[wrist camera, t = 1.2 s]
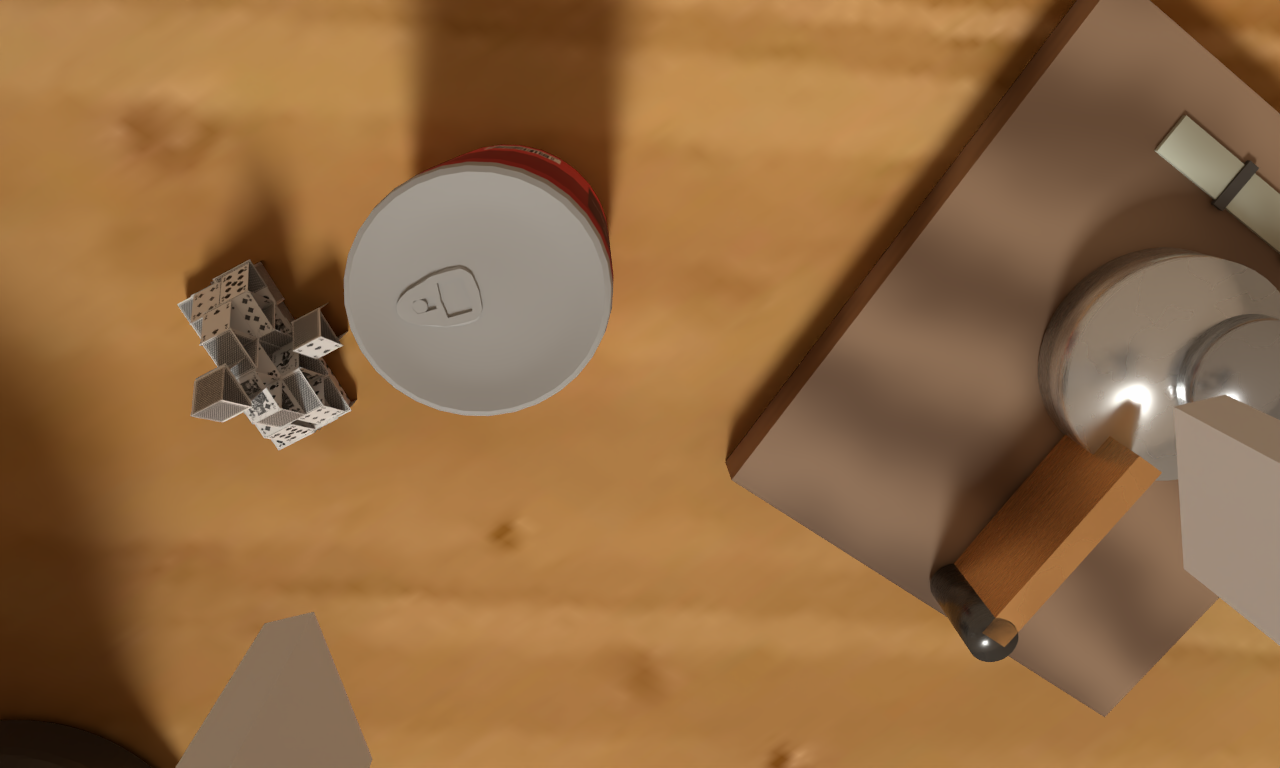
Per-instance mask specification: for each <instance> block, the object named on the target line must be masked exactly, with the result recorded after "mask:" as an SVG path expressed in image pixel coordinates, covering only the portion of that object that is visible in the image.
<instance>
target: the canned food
mask: <svg viewBox="0 0 1280 768" xmlns="http://www.w3.org/2000/svg"><path fill="white" fill-rule="evenodd" d="M612 296H613V269H612V260H611V251H610V242H609V234H608V228H607V221H606V217H605V214H604V211H603V209H602V206H601V203H600V201H599V199H598V197H597V196H596V194H595V192H594V191H593V189H592V188H591V186H590V184H589V183H588V182H587V181H586V180H585V179H584V178H583V177H582V176H581V175H580V174H579V173H578V172H577V170H575V169H574V168H573V167H571V166H570V165H568V164H567V163H566V162H564V161H563V160H561V159H560V158H558V157H556V156H554V155H551V154H549V153H547V152H545V151H542V150H539V149H535V148H531V147H526V146H522V145H496V146H489V147H483V148H479V149H477V150H474V151H471V152H469V153H466V154H463V155H461V156H458V157H456V158H454V159H451V160H449V161H446V162H444V163H442V164H439V165H437V166H434V167H432V168H430V169H427V170H425V171H423V172H421V173H420V174H418V175H416V176H414V177H413V178H411V179H409V180H408V181H406V182H405V183H403V184H401V185H400V186H398V187H396V188H395V189H394V190H392V191H391V192H390V193H389V194H388V195H387V196H386V197H385V198H384V199H383V200H382V201H381V202H380V203H379V204H378V205H377V206H375V208H374V209H373V211H372V212H371V213H370V215H369V216H368V218H367V219H366V221H365V222H364V224H363V225H362V226H361V228H360V229H359V231H358V233H357V235H356V237H355V240H354V242H353V245H352V247H351V249H350V252H349V254H348V259H347V264H346V270H345V275H344V304H345V308H346V312H347V316H348V320H349V325H350V328H351V331H352V333H353V335H354V337H355V339H356V341H357V343H358V345H359V347H360V350H361V351H362V353H363V354H364V355H365V357H366V358H367V359H368V361H369V362H370V363H371V365H372V366H373V367H374V369H375V370H376V371H377V372H378V373H379V374H380V375H381V376H382V377H383V378H384V379H386V380H387V381H388V382H389V383H390V384H391V385H392V386H393V387H394V388H396V389H397V390H399V391H401V392H402V393H404V394H405V395H407V396H409V397H410V398H412V399H413V400H415V401H417V402H420V403H422V404H425V405H427V406H430V407H432V408H435V409H437V410H440V411H445V412H450V413H455V414H460V415H474V416H492V415H498V414H504V413H511V412H516V411H518V410H521V409H524V408H527V407H530V406H533V405H536V404H538V403H540V402H542V401H543V400H545V399H547V398H549V397H551V396H552V395H554V394H556V393H558V392H559V391H560V390H562V389H563V388H564V387H565V386H566V385H567V384H569V383H570V382H571V381H572V380H573V379H574V378H576V377H577V376H578V375H579V373H580V372H581V371H582V370H583V368H584V367H585V366H586V365H587V363H588V362H589V361H590V359H591V358H592V357H593V355H594V353H595V351H596V349H597V347H598V345H599V343H600V341H601V339H602V337H603V335H604V333H605V331H606V328H607V324H608V320H609V316H610V313H611V309H612Z"/></svg>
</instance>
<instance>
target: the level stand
mask: <svg viewBox="0 0 1280 768" xmlns="http://www.w3.org/2000/svg"><path fill="white" fill-rule="evenodd" d="M1158 247H1173V248H1180V249H1187V250H1191V251H1195V252H1198V253H1202V254H1206V255H1210V256H1213V257H1217V258H1221V259H1225V260H1229V261H1232V262H1235V263H1239V264H1242V265H1244V266H1246V267H1248V268H1250V269H1252V270H1255V271H1256V272H1258V273H1259V274H1260V275H1262V276H1263V277H1265V278H1266V279H1267V280H1268V281H1269V282H1270V283H1271V284H1272V285H1274V286H1275V287H1276V289H1277V290H1278V291H1279V293H1280V113H1278V112H1277V111H1276V110H1275V109H1274V108H1273V107H1272V106H1270V105H1269V104H1268V103H1267V102H1266V101H1265V100H1263V99H1262V98H1261V97H1260V96H1259V95H1258V94H1257V93H1255V92H1254V91H1253V90H1252V89H1251V88H1250V87H1249V86H1247V85H1246V84H1245V83H1244V82H1243V81H1242V80H1241V79H1239V78H1238V77H1237V76H1236V75H1235V74H1234V73H1233V72H1231V71H1230V70H1229V69H1228V68H1227V67H1226V66H1225V65H1223V64H1222V63H1221V62H1220V61H1219V60H1218V59H1216V58H1215V57H1214V56H1213V55H1212V54H1211V53H1210V52H1208V51H1207V50H1206V49H1205V48H1204V47H1203V46H1202V45H1200V44H1199V43H1198V42H1197V41H1196V40H1195V39H1194V38H1192V37H1191V36H1190V35H1189V34H1188V33H1187V32H1186V31H1184V30H1183V29H1182V28H1181V27H1180V26H1179V25H1177V24H1176V23H1175V22H1174V21H1173V20H1172V19H1171V18H1169V17H1168V16H1167V15H1166V14H1165V13H1164V12H1163V11H1161V10H1160V9H1159V8H1158V7H1157V6H1156V5H1155V4H1153V3H1152V2H1151V1H1150V0H1077V1H1076V2H1075V3H1074V5H1073V6H1072V7H1071V9H1070V10H1069V11H1068V13H1067V14H1066V15H1065V17H1064V18H1063V19H1062V21H1061V22H1060V23H1059V24H1058V26H1057V27H1056V28H1055V30H1054V31H1053V32H1052V34H1051V35H1050V36H1049V38H1048V39H1047V40H1046V42H1045V43H1044V44H1043V45H1042V47H1041V48H1040V49H1039V51H1038V52H1037V53H1036V55H1035V56H1034V57H1033V59H1032V60H1031V61H1030V63H1029V64H1028V65H1027V66H1026V68H1025V69H1024V70H1023V72H1022V73H1021V74H1020V76H1019V77H1018V78H1017V80H1016V81H1015V82H1014V84H1013V85H1012V86H1011V87H1010V89H1009V90H1008V91H1007V93H1006V94H1005V95H1004V97H1003V98H1002V99H1001V101H1000V102H999V103H998V105H997V106H996V107H995V109H994V110H993V111H992V112H991V114H990V115H989V116H988V118H987V119H986V120H985V122H984V123H983V124H982V126H981V127H980V128H979V130H978V131H977V132H976V133H975V135H974V136H973V137H972V139H971V140H970V141H969V143H968V144H967V145H966V147H965V148H964V149H963V151H962V152H961V153H960V154H959V156H958V157H957V158H956V160H955V161H954V162H953V164H952V165H951V166H950V168H949V169H948V170H947V172H946V173H945V174H944V175H943V177H942V178H941V179H940V181H939V182H938V183H937V185H936V186H935V187H934V189H933V190H932V191H931V193H930V194H929V195H928V197H927V198H926V199H925V200H924V202H923V203H922V204H921V206H920V207H919V208H918V210H917V211H916V212H915V214H914V215H913V216H912V218H911V219H910V220H909V221H908V223H907V224H906V225H905V227H904V228H903V229H902V231H901V232H900V233H899V235H898V236H897V237H896V239H895V240H894V241H893V242H892V244H891V245H890V246H889V248H888V249H887V250H886V252H885V253H884V254H883V256H882V257H881V258H880V260H879V261H878V262H877V263H876V265H875V266H874V267H873V269H872V270H871V271H870V273H869V274H868V275H867V277H866V278H865V279H864V281H863V282H862V283H861V285H860V286H859V287H858V288H857V290H856V291H855V292H854V294H853V295H852V296H851V298H850V299H849V300H848V302H847V303H846V304H845V306H844V307H843V308H842V309H841V311H840V312H839V313H838V315H837V316H836V317H835V319H834V320H833V321H832V323H831V324H830V325H829V327H828V328H827V329H826V330H825V332H824V333H823V334H822V336H821V337H820V338H819V340H818V341H817V342H816V344H815V345H814V346H813V348H812V349H811V350H810V351H809V353H808V354H807V355H806V357H805V358H804V359H803V361H802V362H801V363H800V365H799V366H798V367H797V369H796V370H795V371H794V373H793V374H792V375H791V376H790V378H789V379H788V380H787V382H786V383H785V384H784V386H783V387H782V388H781V390H780V391H779V392H778V394H777V395H776V396H775V397H774V399H773V400H772V401H771V403H770V404H769V405H768V407H767V408H766V409H765V411H764V412H763V413H762V415H761V416H760V417H759V418H758V420H757V421H756V422H755V424H754V425H753V426H752V428H751V429H750V430H749V432H748V433H747V434H746V436H745V437H744V438H743V439H742V441H741V442H740V443H739V445H738V446H737V447H736V449H735V450H734V451H733V453H732V454H731V455H730V457H729V458H728V459H727V461H726V465H727V468H728V471H729V474H730V477H731V480H732V481H734V482H736V483H737V484H739V485H740V486H742V487H743V488H745V489H747V490H748V491H750V492H751V493H753V494H754V495H756V496H758V497H759V498H761V499H762V500H764V501H765V502H767V503H769V504H770V505H772V506H773V507H775V508H776V509H778V510H780V511H781V512H783V513H784V514H786V515H787V516H789V517H791V518H792V519H794V520H795V521H797V522H798V523H800V524H802V525H803V526H805V527H806V528H808V529H809V530H811V531H813V532H814V533H816V534H817V535H819V536H821V537H822V538H824V539H825V540H827V541H828V542H830V543H832V544H833V545H835V546H836V547H838V548H839V549H841V550H843V551H844V552H846V553H847V554H849V555H850V556H852V557H854V558H855V559H857V560H858V561H860V562H861V563H863V564H865V565H866V566H868V567H869V568H871V569H872V570H874V571H876V572H877V573H879V574H880V575H882V576H883V577H885V578H887V579H888V580H890V581H891V582H893V583H894V584H896V585H898V586H899V587H901V588H902V589H904V590H905V591H907V592H909V593H910V594H912V595H913V596H915V597H916V598H918V599H920V600H921V601H923V602H924V603H926V604H927V605H929V606H931V607H932V608H934V609H935V610H937V611H938V612H940V613H942V614H943V615H945V616H946V614H945V613H944V611H943V610H942V608H941V607H940V605H939V604H938V602H937V601H936V599H935V598H934V596H933V595H932V593H931V590H930V582H931V579H932V577H933V575H934V574H935V572H936V571H937V570H939V569H940V568H941V567H943V566H945V565H948V564H953V563H955V562H956V560H957V559H958V558H959V557H960V556H961V555H962V553H963V552H964V551H965V550H966V549H967V548H968V546H969V545H970V544H971V543H972V542H973V541H974V540H975V538H976V537H977V536H978V535H979V534H980V533H981V531H982V530H983V529H984V528H985V527H986V526H987V524H988V523H989V522H990V521H991V520H992V519H993V517H994V516H995V515H996V514H997V513H998V512H999V510H1000V509H1001V508H1002V507H1003V506H1004V505H1005V504H1006V502H1007V501H1008V500H1009V499H1010V498H1011V497H1012V495H1013V494H1014V493H1015V492H1016V491H1017V490H1018V488H1019V487H1020V486H1021V485H1022V484H1023V483H1024V481H1025V480H1026V479H1027V478H1028V477H1029V476H1030V474H1031V473H1032V472H1033V471H1034V470H1035V469H1036V467H1037V466H1038V465H1039V464H1040V463H1041V462H1042V461H1043V459H1044V458H1045V457H1046V456H1047V455H1048V454H1049V452H1050V451H1051V450H1052V449H1053V448H1054V447H1055V445H1056V444H1057V443H1058V442H1059V441H1060V440H1061V438H1062V437H1063V436H1064V435H1065V434H1064V433H1062V431H1061V430H1060V429H1059V428H1058V427H1057V426H1056V425H1055V423H1054V422H1053V420H1052V419H1051V417H1050V415H1049V414H1048V412H1047V410H1046V407H1045V405H1044V403H1043V400H1042V396H1041V393H1040V389H1039V380H1038V361H1039V354H1040V348H1041V345H1042V341H1043V338H1044V334H1045V332H1046V330H1047V327H1048V325H1049V323H1050V321H1051V319H1052V317H1053V315H1054V314H1055V312H1056V310H1057V308H1058V307H1059V306H1060V304H1061V303H1062V301H1063V300H1064V299H1065V297H1066V296H1067V295H1068V294H1069V293H1070V292H1071V291H1072V290H1073V288H1074V287H1075V286H1076V285H1077V284H1078V283H1080V282H1081V281H1082V280H1083V279H1084V278H1085V277H1086V276H1088V275H1089V274H1090V273H1092V272H1093V271H1095V270H1096V269H1098V268H1099V267H1100V266H1102V265H1104V264H1106V263H1108V262H1110V261H1111V260H1113V259H1115V258H1118V257H1120V256H1123V255H1125V254H1128V253H1131V252H1135V251H1139V250H1143V249H1150V248H1158ZM1218 598H1219V597H1218V596H1217V595H1216V594H1215V593H1213V592H1212V591H1211V590H1210V589H1208V588H1207V587H1206V586H1205V585H1203V584H1202V583H1201V582H1200V581H1198V580H1197V579H1196V578H1195V577H1193V576H1192V575H1191V574H1190V573H1188V572H1187V571H1186V570H1185V569H1184V564H1183V548H1182V532H1181V515H1180V499H1179V483H1178V479H1177V480H1169V481H1154V482H1153V483H1152V485H1151V486H1150V487H1149V488H1148V489H1147V490H1146V491H1145V492H1144V493H1143V494H1142V496H1141V497H1140V498H1139V499H1138V500H1137V501H1136V502H1135V503H1134V504H1133V506H1132V507H1131V508H1130V509H1129V510H1128V511H1127V512H1126V513H1125V514H1124V516H1123V517H1122V518H1121V519H1120V520H1119V521H1118V522H1117V523H1116V524H1115V526H1114V527H1113V528H1112V529H1111V530H1110V531H1109V532H1108V533H1107V534H1106V536H1105V537H1104V538H1103V539H1102V540H1101V541H1100V542H1099V543H1098V544H1097V545H1096V547H1095V548H1094V549H1093V550H1092V551H1091V552H1090V553H1089V554H1088V555H1087V557H1086V558H1085V559H1084V560H1083V561H1082V562H1081V563H1080V564H1079V565H1078V567H1077V568H1076V569H1075V570H1074V571H1073V572H1072V573H1071V574H1070V575H1069V577H1068V578H1067V579H1066V580H1065V581H1064V582H1063V583H1062V584H1061V585H1060V587H1059V588H1058V589H1057V590H1056V591H1055V592H1054V593H1053V594H1052V595H1051V596H1050V598H1049V599H1048V600H1047V601H1046V602H1045V603H1044V604H1043V605H1042V606H1041V608H1040V609H1039V610H1038V611H1037V612H1036V613H1035V614H1034V615H1033V616H1032V618H1031V619H1030V620H1029V621H1028V622H1027V623H1026V624H1025V625H1024V626H1023V628H1022V629H1021V630H1020V631H1019V632H1018V643H1017V645H1016V647H1015V649H1014V650H1013V652H1012V653H1011V654H1010V655H1008V656H1009V657H1011V658H1012V659H1014V660H1016V661H1017V662H1019V663H1020V664H1022V665H1023V666H1025V667H1027V668H1028V669H1030V670H1031V671H1033V672H1034V673H1036V674H1038V675H1039V676H1041V677H1042V678H1044V679H1045V680H1047V681H1049V682H1050V683H1052V684H1053V685H1055V686H1056V687H1058V688H1060V689H1061V690H1063V691H1064V692H1066V693H1067V694H1069V695H1071V696H1072V697H1074V698H1075V699H1077V700H1079V701H1080V702H1082V703H1083V704H1085V705H1086V706H1088V707H1090V708H1091V709H1093V710H1094V711H1096V712H1097V713H1099V714H1101V715H1102V716H1104V717H1105V716H1106V715H1107V714H1108V713H1109V712H1110V711H1111V710H1112V709H1113V708H1114V707H1115V706H1116V705H1117V704H1118V703H1119V702H1120V701H1121V700H1122V699H1123V698H1124V696H1125V695H1126V694H1127V693H1128V692H1129V691H1130V690H1131V689H1132V688H1133V687H1134V686H1135V685H1136V684H1137V683H1138V682H1139V681H1140V680H1141V679H1142V678H1143V677H1144V676H1145V675H1146V674H1147V672H1148V671H1149V670H1150V669H1151V668H1152V667H1153V666H1154V665H1155V664H1156V663H1157V662H1158V661H1159V660H1160V659H1161V658H1162V657H1163V656H1164V655H1165V654H1166V653H1167V652H1168V651H1169V649H1170V648H1171V647H1172V646H1173V645H1174V644H1175V643H1176V642H1177V641H1178V640H1179V639H1180V638H1181V637H1182V636H1183V635H1184V634H1185V633H1186V632H1187V631H1188V630H1189V629H1190V628H1191V627H1192V625H1193V624H1194V623H1195V622H1196V621H1197V620H1198V619H1199V618H1200V617H1201V616H1202V615H1203V614H1204V613H1205V612H1206V611H1207V610H1208V609H1209V608H1210V607H1211V606H1212V605H1213V604H1214V602H1215V601H1216V600H1217V599H1218ZM946 617H947V616H946Z"/></svg>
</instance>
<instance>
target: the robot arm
mask: <svg viewBox="0 0 1280 768" xmlns="http://www.w3.org/2000/svg"><path fill="white" fill-rule="evenodd" d="M1174 417H1175V434H1176V450H1177V466H1178V483H1179V499H1180V515H1181V532H1182V548H1183V564H1184V569H1185V570H1186V571H1187V572H1188V573H1190V574H1191V575H1192V576H1193V577H1195V578H1196V579H1197V580H1198V581H1200V582H1201V583H1202V584H1203V585H1205V586H1206V587H1207V588H1208V589H1210V590H1211V591H1212V592H1213V593H1215V594H1216V595H1217V596H1218V597H1220V598H1221V599H1222V600H1223V601H1225V602H1226V603H1227V604H1228V605H1230V606H1231V607H1232V608H1233V609H1235V610H1236V611H1237V612H1238V613H1240V614H1241V615H1242V616H1243V617H1245V618H1246V619H1247V620H1248V621H1250V622H1251V623H1252V624H1253V625H1255V626H1256V627H1257V628H1258V629H1260V630H1261V631H1262V632H1263V633H1265V634H1266V635H1267V636H1268V637H1270V638H1271V639H1272V640H1273V641H1275V642H1276V643H1277V644H1278V645H1280V420H1278V419H1276V418H1274V417H1272V416H1270V415H1268V414H1266V413H1263V412H1261V411H1259V410H1257V409H1255V408H1253V407H1251V406H1249V405H1247V404H1244V403H1242V402H1240V401H1238V400H1236V399H1234V398H1232V397H1230V396H1227V395H1221V396H1217V397H1212V398H1208V399H1204V400H1200V401H1196V402H1191V403H1187V404H1183V405H1179V406H1175V407H1174ZM371 761H372V757H371V754H370V752H369V749H368V747H367V744H366V742H365V739H364V737H363V734H362V732H361V729H360V727H359V724H358V722H357V719H356V717H355V714H354V712H353V709H352V707H351V704H350V702H349V699H348V697H347V694H346V691H345V689H344V686H343V684H342V681H341V679H340V676H339V674H338V671H337V669H336V666H335V664H334V661H333V659H332V656H331V654H330V651H329V649H328V646H327V644H326V641H325V639H324V636H323V634H322V631H321V629H320V626H319V624H318V621H317V619H316V616H315V614H314V612H311V613H307V614H303V615H299V616H294V617H290V618H286V619H282V620H278V621H273V622H269V623H265V624H264V626H263V627H262V629H261V630H260V632H259V634H258V635H257V637H256V638H255V640H254V642H253V643H252V645H251V647H250V648H249V650H248V651H247V653H246V655H245V656H244V658H243V659H242V661H241V663H240V664H239V666H238V668H237V669H236V671H235V672H234V674H233V676H232V677H231V679H230V680H229V682H228V684H227V685H226V687H225V688H224V690H223V692H222V693H221V695H220V697H219V698H218V700H217V701H216V703H215V705H214V706H213V708H212V709H211V711H210V713H209V714H208V716H207V717H206V719H205V721H204V722H203V724H202V726H201V727H200V729H199V730H198V732H197V734H196V735H195V737H194V738H193V740H192V742H191V743H190V745H189V746H188V748H187V750H186V751H185V753H184V755H183V756H182V758H181V759H180V761H179V763H178V764H177V766H176V767H175V768H369V767H370V764H371ZM0 768H151V767H150V766H149V765H148V764H146V763H145V762H144V761H142V760H141V759H140V758H138V757H137V756H135V755H134V754H132V753H131V752H129V751H127V750H126V749H124V748H122V747H120V746H118V745H117V744H115V743H113V742H111V741H109V740H106V739H104V738H102V737H99V736H97V735H94V734H92V733H89V732H86V731H83V730H80V729H76V728H73V727H69V726H65V725H60V724H55V723H49V722H41V721H30V720H3V721H0Z"/></svg>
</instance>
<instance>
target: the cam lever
mask: <svg viewBox="0 0 1280 768" xmlns="http://www.w3.org/2000/svg"><path fill="white" fill-rule="evenodd" d="M1038 380H1039V389H1040V393H1041V396H1042V400H1043V403H1044V405H1045V407H1046V410H1047V412H1048V414H1049V415H1050V417H1051V419H1052V420H1053V422H1054V423H1055V425H1056V426H1057V427H1058V428H1059V429H1060V430H1061V431H1062V433H1064V434H1065V435H1064V436H1063V437H1062V438H1061V440H1060V441H1059V442H1058V443H1057V444H1056V445H1055V447H1054V448H1053V449H1052V450H1051V451H1050V452H1049V454H1048V455H1047V456H1046V457H1045V458H1044V459H1043V461H1042V462H1041V463H1040V464H1039V465H1038V466H1037V467H1036V469H1035V470H1034V471H1033V472H1032V473H1031V474H1030V476H1029V477H1028V478H1027V479H1026V480H1025V481H1024V483H1023V484H1022V485H1021V486H1020V487H1019V488H1018V490H1017V491H1016V492H1015V493H1014V494H1013V495H1012V497H1011V498H1010V499H1009V500H1008V501H1007V502H1006V504H1005V505H1004V506H1003V507H1002V508H1001V509H1000V510H999V512H998V513H997V514H996V515H995V516H994V517H993V519H992V520H991V521H990V522H989V523H988V524H987V526H986V527H985V528H984V529H983V530H982V531H981V533H980V534H979V535H978V536H977V537H976V538H975V540H974V541H973V542H972V543H971V544H970V545H969V546H968V548H967V549H966V550H965V551H964V552H963V553H962V555H961V556H960V557H959V558H958V559H957V560H956V562H955V563H953V564H948V565H945V566H943V567H941V568H940V569H939V570H937V571H936V572H935V574H934V575H933V577H932V579H931V582H930V590H931V593H932V595H933V596H934V598H935V599H936V601H937V602H938V604H939V605H940V607H941V608H942V610H943V611H944V613H945V614H946V616H947V617H948V619H949V620H950V622H951V623H952V625H953V626H954V628H955V629H956V631H957V632H958V634H959V635H960V637H961V638H962V640H963V641H964V643H965V644H966V646H967V647H968V649H969V650H970V652H971V653H972V654H973V656H974V657H976V658H977V659H979V660H981V661H985V662H995V661H999V660H1002V659H1004V658H1005V657H1007V656H1008V655H1010V654H1011V653H1012V652H1013V650H1014V649H1015V647H1016V645H1017V643H1018V632H1019V631H1020V630H1021V629H1022V628H1023V626H1024V625H1025V624H1026V623H1027V622H1028V621H1029V620H1030V619H1031V618H1032V616H1033V615H1034V614H1035V613H1036V612H1037V611H1038V610H1039V609H1040V608H1041V606H1042V605H1043V604H1044V603H1045V602H1046V601H1047V600H1048V599H1049V598H1050V596H1051V595H1052V594H1053V593H1054V592H1055V591H1056V590H1057V589H1058V588H1059V587H1060V585H1061V584H1062V583H1063V582H1064V581H1065V580H1066V579H1067V578H1068V577H1069V575H1070V574H1071V573H1072V572H1073V571H1074V570H1075V569H1076V568H1077V567H1078V565H1079V564H1080V563H1081V562H1082V561H1083V560H1084V559H1085V558H1086V557H1087V555H1088V554H1089V553H1090V552H1091V551H1092V550H1093V549H1094V548H1095V547H1096V545H1097V544H1098V543H1099V542H1100V541H1101V540H1102V539H1103V538H1104V537H1105V536H1106V534H1107V533H1108V532H1109V531H1110V530H1111V529H1112V528H1113V527H1114V526H1115V524H1116V523H1117V522H1118V521H1119V520H1120V519H1121V518H1122V517H1123V516H1124V514H1125V513H1126V512H1127V511H1128V510H1129V509H1130V508H1131V507H1132V506H1133V504H1134V503H1135V502H1136V501H1137V500H1138V499H1139V498H1140V497H1141V496H1142V494H1143V493H1144V492H1145V491H1146V490H1147V489H1148V488H1149V487H1150V486H1151V485H1152V483H1153V482H1154V481H1169V480H1177V479H1178V466H1177V450H1176V434H1175V417H1174V407H1175V406H1179V405H1183V404H1187V403H1191V402H1196V401H1200V400H1204V399H1208V398H1212V397H1217V396H1221V395H1227V396H1230V397H1232V398H1234V399H1236V400H1238V401H1240V402H1242V403H1244V404H1247V405H1249V406H1251V407H1253V408H1255V409H1257V410H1259V411H1261V412H1263V413H1266V414H1268V415H1270V416H1272V417H1274V418H1276V419H1278V420H1280V293H1279V291H1278V290H1277V289H1276V287H1275V286H1274V285H1272V284H1271V283H1270V282H1269V281H1268V280H1267V279H1266V278H1265V277H1263V276H1262V275H1260V274H1259V273H1258V272H1256V271H1255V270H1252V269H1250V268H1248V267H1246V266H1244V265H1242V264H1239V263H1235V262H1232V261H1229V260H1225V259H1221V258H1217V257H1213V256H1210V255H1206V254H1202V253H1198V252H1195V251H1191V250H1187V249H1180V248H1173V247H1158V248H1150V249H1143V250H1139V251H1135V252H1131V253H1128V254H1125V255H1123V256H1120V257H1118V258H1115V259H1113V260H1111V261H1110V262H1108V263H1106V264H1104V265H1102V266H1100V267H1099V268H1098V269H1096V270H1095V271H1093V272H1092V273H1090V274H1089V275H1088V276H1086V277H1085V278H1084V279H1083V280H1082V281H1081V282H1080V283H1078V284H1077V285H1076V286H1075V287H1074V288H1073V290H1072V291H1071V292H1070V293H1069V294H1068V295H1067V296H1066V297H1065V299H1064V300H1063V301H1062V303H1061V304H1060V306H1059V307H1058V308H1057V310H1056V312H1055V314H1054V315H1053V317H1052V319H1051V321H1050V323H1049V325H1048V327H1047V330H1046V332H1045V334H1044V338H1043V341H1042V345H1041V348H1040V354H1039V361H1038Z"/></svg>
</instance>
